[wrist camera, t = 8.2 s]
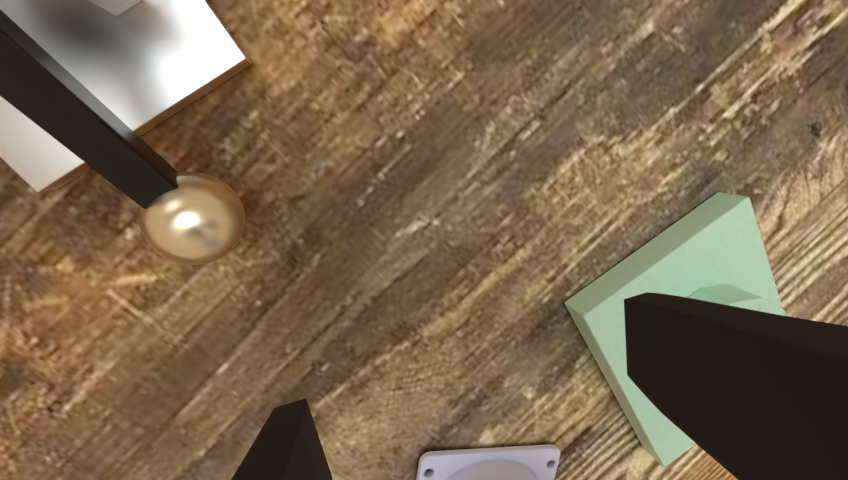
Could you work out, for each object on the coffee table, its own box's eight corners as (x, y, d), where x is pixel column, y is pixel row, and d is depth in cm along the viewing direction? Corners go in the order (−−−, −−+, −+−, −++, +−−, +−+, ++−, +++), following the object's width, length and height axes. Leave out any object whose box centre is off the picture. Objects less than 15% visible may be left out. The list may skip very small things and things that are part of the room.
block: (770, 350, 25) (837, 383, 22) (642, 446, 25) (691, 495, 21) (717, 191, 21) (790, 202, 18) (562, 302, 21) (609, 335, 17)
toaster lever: (258, 201, 14) (270, 245, 12) (190, 246, 14) (192, 298, 12) (-247, -320, 6) (-452, -439, 4) (-419, -228, 6) (-714, -307, 4)
